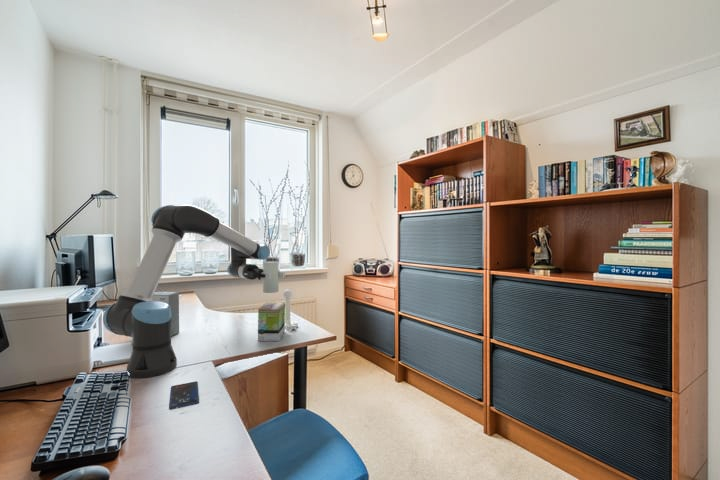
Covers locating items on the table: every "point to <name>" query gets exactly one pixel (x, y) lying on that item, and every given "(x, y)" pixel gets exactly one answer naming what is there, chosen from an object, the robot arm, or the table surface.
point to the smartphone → (184, 395)
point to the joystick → (288, 311)
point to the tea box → (271, 321)
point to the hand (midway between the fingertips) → (277, 275)
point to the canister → (272, 284)
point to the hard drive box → (173, 302)
